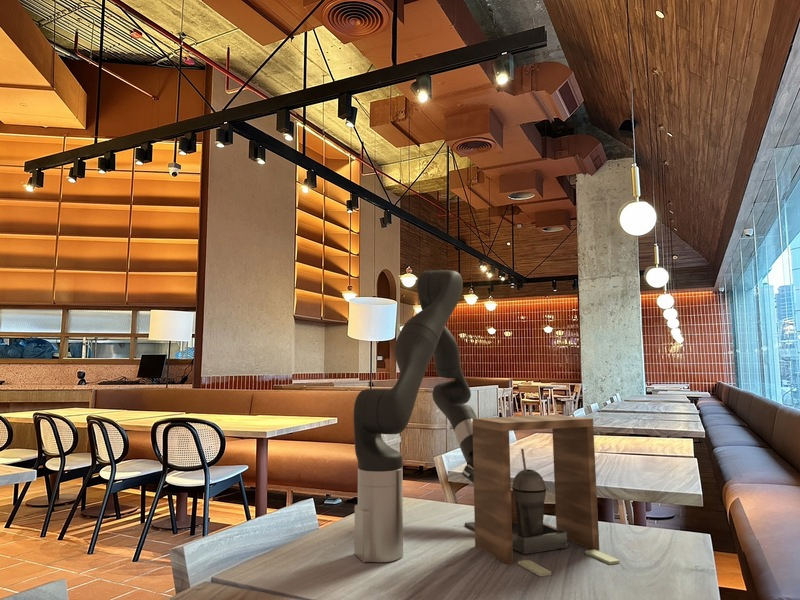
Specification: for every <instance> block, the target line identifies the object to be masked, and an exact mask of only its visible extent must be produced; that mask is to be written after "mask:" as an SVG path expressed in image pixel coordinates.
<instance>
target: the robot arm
mask: <svg viewBox="0 0 800 600" xmlns="http://www.w3.org/2000/svg"><path fill="white" fill-rule="evenodd" d="M463 283H464V282H463V278H462V275H461V274H460V273H459V272H458V271H455V270H450V269H445V270H444V269H443V270H442V269H438V270H437V269H436V270H424V271H422V272H420V274H419V276H418V278H417V283H416V284H417V285H416V288H417V290H416V291H417V296H418V301H419V305H420V308H421V310H420V311H418V312H417V313H416V314H414V315H413V316H412V317H410V318H409V319H408V320H407V321H406V322H405V323H404V325H403V326H402V329H401V330H400V332H399V334H398V335H397V337H396V340H395V342H394V347H393V352H394V358H395V361H396V364H397V367H398V370H399V371H398V372H399V376H398V379H397V381H396V383H395V385H394V386H393V387H392V388H367V389H362V390H361V391H359V393H358V394H357V396H356V398H355V401H354V407H353V430H354V432H353V433H354V434H353V435H354V453H355V457H356V460H357V504H355V505H354V542H353V543H354V544H353V545H354V546H353V547H354V555H355V556H357V558H359V559H360V560H361V562H363V563H367V562H369V563H371V562H372V563H387V562H392V561H396V560H399V559H400V558H402V557H403V555H404V515H403V514H404V509H403V506H404V505H403V503H404V502H403V501H404V498H403V497H404V495H403V494H404V493H403V492H404V490H403V488H404V487H403V482H404V479H403V456H402V454H401V452H399V451H398V450H396V449H394V448H392V447H391V446H389V444H387V443H386V442H385V440H384V438H383V437H382V436H383V435H399V434H401V433H403V431H405V429H406V428H407V426H408V424H409V421H410V419H411V417H412V413H413V412H414V407H415V404H416V401H417V397H418V393H419V391H420V387H421V384H422V381H423V379H424V376H425V374H426V371H427V369H428V367H429V365H430V362H431V360H432V358H433V360H434V366H435V372H436V375H437V376H438V377H439V378H442V379H453V380H450V381H446V382H441V383H437V384H436V385H435V386H434V387H433V389H432V399H433V402H434V404H435V405H436V406H437V409H439V411H441V412H442V414H444V416H445V417H446V418H447V420H448V422H449V423H450V424H451V427H452V429H453V432H454V435H455V439H456V442H457V443H458V446H459V449H460V450H461V453H462V455H463V457H464V459H465V462H466V465H465V466H464V468H463V470H462V473H461V475H462V476H463V477H465V478H466V479H468V481H470V482H472V483H473V484H474V470H473V426H472V418H478V417H477V415H476V413H475V411H474V408H473V407H472V406H471V405H468V404H467V403H468V402H469V401H470V399H471V396H472V393H471V389H470V387H469V384H468V382H467V379H466V378H465V375H464V373H463V369H462V364H461V363H462V362H461V355H460V348H459V345H458V343H457V340H456V338H455V337H454V335H453V334H452V332H451V331H450V330H449V329H448V327H447V326H446V325H447V322H448V321H449V320H450V317H451V316H452V314H453V312H454V311H455V309H456V308H457V305H458V303H459V302H460V300H461V297H462V294H463V287H464V286H463Z"/></svg>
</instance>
